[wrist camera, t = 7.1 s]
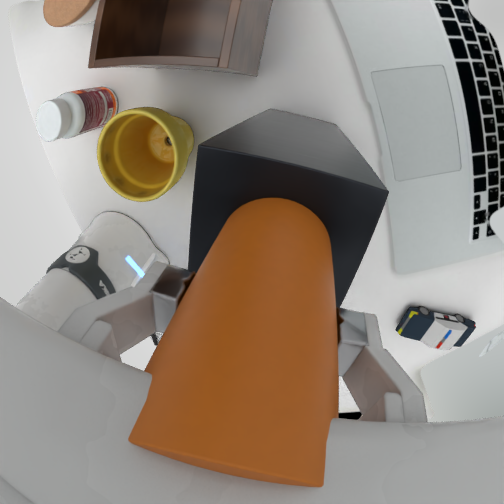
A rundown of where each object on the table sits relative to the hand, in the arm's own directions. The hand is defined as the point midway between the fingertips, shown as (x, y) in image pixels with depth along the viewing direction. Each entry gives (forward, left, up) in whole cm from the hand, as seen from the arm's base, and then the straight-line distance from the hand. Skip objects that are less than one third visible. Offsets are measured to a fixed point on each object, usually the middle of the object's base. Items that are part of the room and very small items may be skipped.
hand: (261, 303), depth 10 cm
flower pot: (-2, +16, -28) cm, 32 cm away
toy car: (-21, -32, -28) cm, 47 cm away
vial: (0, 0, -4) cm, 4 cm away
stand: (0, 0, -28) cm, 28 cm away
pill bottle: (+2, +28, -28) cm, 40 cm away
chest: (+16, +13, -28) cm, 34 cm away
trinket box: (+20, +31, -28) cm, 46 cm away
